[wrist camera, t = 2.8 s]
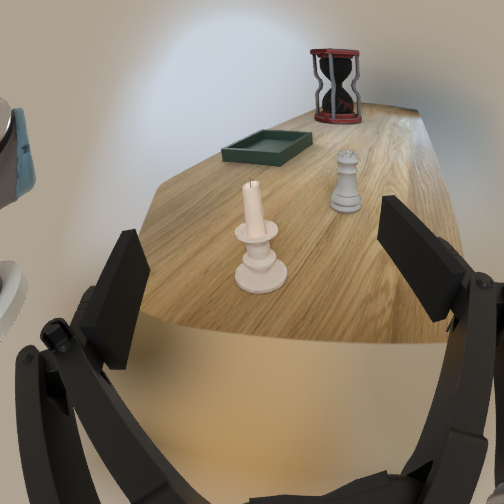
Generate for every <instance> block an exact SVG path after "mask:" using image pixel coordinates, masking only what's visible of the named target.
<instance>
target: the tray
mask: <svg viewBox="0 0 504 504" xmlns="http://www.w3.org/2000/svg"><path fill="white" fill-rule="evenodd" d="M311 144H313V142H312V133H311V132H298V131H283V130H260V131H258V132H256V133H253V134H251V135H249V136H247V137H245V138H243V139H240V140H238V141H236V142H234V143H232V144H230V145H228V146H226V147H224V148H222V149H221V153H222V159H223V161H230V162H242V163H252V164H262V165H271V166H282V165H283V164H284V163H286V162H287V161H288V160H290V159H291V158H293V157H294V156H296V155H297V154H298V153H300V152H301V151H303V150H304V149H305V148H307V147H308V146H310V145H311Z"/></svg>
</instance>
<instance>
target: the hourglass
mask: <svg viewBox="0 0 504 504" xmlns="http://www.w3.org/2000/svg"><path fill="white" fill-rule="evenodd" d="M310 54H312V55H313V67H314V75H315V77H316V78H317V79H318V81H319V88H318V90H317V91H316V94H315V96H316V114H315V119H316V120H317V121H320V122H325V123H332V124H354V123H359V122H361V120H362V117H361V107H360V95H359V93H358V92H357V90H356V87H355V84H356V81H357V80H358V79H359V76H360V73H359V51H357V50H348V49H331V48H328V49H312V50H310ZM316 55H317V56H318V57H319V58H321V59H320V61H319V62H320V69H321V71H322V72H323V74H324V75H325V76H326V77H327V78H328V79H329V80H330V81H331V86H332V88H331V89H330V90H329V91H328V92H327V93H326V94H325V96H324V98H323V100H322V108H323V111H321V112H319V92H320V91H321V90H322V88H323V82H322V79H320V77H319V76H318V74H317V64H316ZM353 56H355V61H356V77H355V79H354V80H353V81H352V84H351V87H352V90H353V91H354V92H355V93H356V96H357V114H355V112H353V109H354V105H353V100H352V98H351V96H350V95H349V94H348V93H347V92H346V91H345V90H344V88H343V87H342V82H343V81H344V80H345V79H346V78H347V77H348V75H349V74H350V73H351V70H352V61H351V60H350V59H351V58H353Z"/></svg>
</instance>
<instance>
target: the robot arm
mask: <svg viewBox="0 0 504 504" xmlns="http://www.w3.org/2000/svg"><path fill="white" fill-rule="evenodd" d="M35 181H36V177H35V170H34V165H33V161H32V156H31V151H30V147H29V141H28V134H27V128H26V122H25V116H24V111H23V109H22V108H17V109H15V108H14V109H12V110H11V109H10V106H9V104H8V102H7V101H6V100H4V99H3V98H0V209H2V208H3V207H5V206H7V205H8V204H10V203H12V202H15V201H17V199H18V198H19V197H21V196H22V195H24V194H25V193H27V192H29V191H30V190H31V189H32V188H33V187H34V184H35ZM377 240H378V241H379V242H380V244H381V245H382V246H383V248H384V249H385V251H386V252H387V253H388V255H389V256H390V258H391V259H392V260H393V262H394V263H395V265H396V266H397V268H398V269H399V271H400V272H401V273H402V275H403V276H404V278H405V279H406V281H407V282H408V284H409V285H410V287H411V288H412V290H413V291H414V293H415V295H416V296H417V298H418V299H419V301H420V302H421V304H422V306H423V307H424V309H425V310H426V312H427V314H428V315H429V317H430V319H431V320H432V322H433V323H434V322H437V321H440V320H443V319H446V317H447V315H448V313H449V311H450V309H451V310H452V312H453V313H454V316H453V318H452V320H451V322H450V324H449V326H448V328H447V330H446V332H448V331H449V329H450V332H449V337H448V342H447V348H446V352H445V356H444V361H443V365H442V369H441V374H440V377H439V381H438V385H437V388H436V391H435V395H434V398H433V401H432V405H431V408H430V411H429V414H428V417H427V420H426V423H425V425H424V428H423V431H422V433H421V436H420V439H419V441H418V444H417V446H416V449H415V451H414V453H413V454H412V456H411V458H410V459H409V460H408V462H407V463H406V465H405V467H404V468H403V470H402V472H401V474H400V475H398V474H387V471H386V470H385V471H382V472H379V473H376V474H373V475H370V476H367V477H364V478H360V479H356V480H354V481H352V482H350V483H348V484H346V485H344V486H342V487H340V488H338V489H336V490H334V491H332V492H330V493H328V494H326V495H323V496H299V495H298V496H297V495H277V496H268V497H258V498H250V499H249V500H250V502H247V503H244V504H470V502H471V499H472V496H473V493H474V491H475V488H476V485H477V482H478V480H479V476H480V473H481V470H482V467H483V464H484V460H485V457H486V453H487V448H488V440H487V439H486V438H485V437H484V436H483V432H484V426H485V422H486V417H487V412H488V406H489V401H490V394H491V387H492V381H493V377H494V387H495V404H496V450H495V470H494V472H495V490H494V492H493V494H491V495H490V496H489V497H488V499H487V502H486V504H504V283H497V282H494V281H493V279H492V278H491V277H489V276H488V275H487V274H485V273H481V272H474V270H473V269H472V268H471V267H470V266H469V265H468V263H467V262H466V261H465V260H464V259H463V258H462V257H461V256H459V253H458V252H457V251H456V250H454V248H453V247H452V246H451V245H450V244H449V242H447V241H445V240H444V239H442V238H441V237H436V236H435V235H434V234H433V233H432V232H431V231H430V230H429V229H428V228H427V227H426V226H425V225H424V224H423V222H422V221H421V220H420V219H419V218H418V217H417V216H416V215H414V214H413V213H412V212H411V211H410V210H409V209H408V208H407V207H406V206H405V205H404V204H403V203H402V202H401V201H400V200H399V199H398V198H397V197H396V196H395V195H390V196H382V205H381V213H380V222H379V229H378V236H377ZM149 273H150V268H149V265H148V263H147V260H146V257H145V255H144V252H143V249H142V246H141V244H140V241H139V238H138V235H137V233H136V230H135V229H131V230H126V231H122V233H121V235H120V237H119V239H118V241H117V243H116V244H115V246H114V248H113V250H112V252H111V255H110V257H109V259H108V261H107V263H106V265H105V267H104V269H103V271H102V273H101V275H100V278H99V280H98V282H97V284H96V286H90V287H89V289H88V290H87V291H86V292H85V293H84V294H83V296H82V299H81V301H80V304H79V305H78V308H77V311H76V312H75V315H74V317H73V319H72V322H71V324H70V326H69V325H68V324H67V322H66V321H65V320H64V319H62V318H55V319H53V320H51V321H49V322H48V323H47V324H46V325H45V326H44V328H43V329H42V331H41V334H40V339H41V340H42V341H43V343H44V344H45V345H46V346H47V348H48V349H47V350H44V351H41V352H39V350H38V349H37V348H36V347H35V346H34V345H28V346H26V347H24V348H23V349H22V350H21V351H20V352H19V353H18V356H17V358H16V368H15V400H16V401H15V402H16V420H17V433H18V442H19V450H20V457H21V463H22V469H23V475H24V480H25V485H26V489H27V494H28V498H29V502H30V504H101V503H100V500H99V498H98V495H97V492H96V489H95V486H94V484H93V481H92V478H91V475H90V471H89V469H88V465H87V462H86V458H85V455H84V451H83V448H82V444H81V440H80V436H79V432H78V427H77V423H76V418H75V414H74V409H75V411H76V413H77V415H78V417H79V419H80V421H81V423H82V425H83V427H84V429H85V431H86V433H87V435H88V436H89V438H90V440H91V442H92V444H93V445H94V447H95V449H96V451H97V452H98V454H99V456H100V457H101V459H102V461H103V462H104V464H105V466H106V467H107V469H108V470H109V472H110V473H111V475H112V476H113V478H114V479H115V481H116V482H117V484H118V485H119V487H120V488H121V490H122V491H123V492H124V494H125V495H126V497H127V498H128V499H129V501H130V503H131V504H211V503H210V502H208V501H207V500H206V499H205V498H204V497H202V496H201V495H200V494H198V493H197V492H196V491H195V490H194V489H193V488H192V487H191V486H190V485H189V484H188V482H186V480H185V479H184V478H183V477H182V476H181V475H180V474H179V473H178V472H177V470H175V468H174V467H173V466H172V465H171V464H170V463H169V461H168V460H167V459H166V458H165V457H164V455H163V454H162V453H161V452H160V451H159V449H158V448H157V447H156V446H155V444H154V443H153V442H152V441H151V439H150V438H149V437H148V435H147V434H146V433H145V432H144V430H143V429H142V427H141V426H140V425H139V423H138V422H137V421H136V419H135V418H134V417H133V415H132V414H131V412H130V411H129V409H128V408H127V407H126V405H125V403H124V402H123V400H122V399H121V397H120V396H119V395H118V393H117V391H116V390H115V388H114V387H113V385H112V383H111V382H110V380H109V378H108V377H107V376H106V374H105V372H104V371H103V370H102V367H103V364H104V362H105V364H106V365H107V366H108V367H109V369H111V370H114V369H115V370H125V369H126V365H127V360H128V356H129V351H130V347H131V342H132V338H133V334H134V330H135V325H136V321H137V317H138V314H139V310H140V306H141V302H142V298H143V295H144V291H145V287H146V284H147V280H148V277H149ZM2 286H3V280H2V278H1V276H0V293H1V290H2ZM73 407H74V409H73Z"/></svg>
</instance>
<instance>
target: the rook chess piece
mask: <svg viewBox="0 0 504 504" xmlns="http://www.w3.org/2000/svg"><path fill="white" fill-rule="evenodd" d="M335 160H336V161H337V163H338V168H337V169H336V170H337V171H338V178H337V184H336V188H335V189H334V192H332V194H331V197H330V198H331V201H330V205H331V207H332V208H333V209H334V210H335V211H337V212H339V213H345V214H351V213H355V212H356V211H358V210H359V209H360V208H361V204H360V202H361V196H360V195H359V193H358V190H357V187H356V173H357V169H356V165H357V164H358V162H359V161H360V160H359V158H358V157H357V153H356V151H352V153H351V150H347V153H344V149H343V150H340V151H338V155H337V156H336V157H335Z"/></svg>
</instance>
